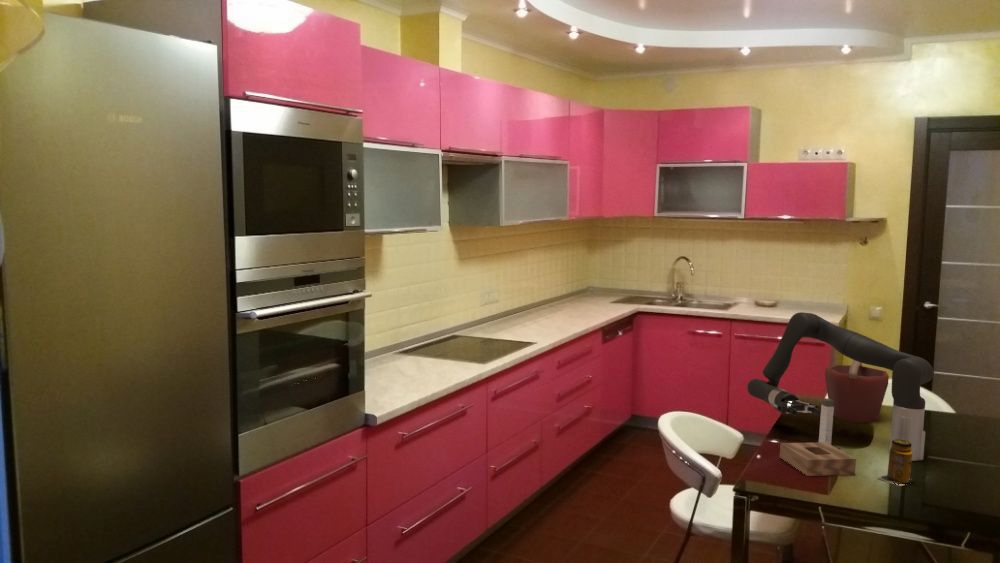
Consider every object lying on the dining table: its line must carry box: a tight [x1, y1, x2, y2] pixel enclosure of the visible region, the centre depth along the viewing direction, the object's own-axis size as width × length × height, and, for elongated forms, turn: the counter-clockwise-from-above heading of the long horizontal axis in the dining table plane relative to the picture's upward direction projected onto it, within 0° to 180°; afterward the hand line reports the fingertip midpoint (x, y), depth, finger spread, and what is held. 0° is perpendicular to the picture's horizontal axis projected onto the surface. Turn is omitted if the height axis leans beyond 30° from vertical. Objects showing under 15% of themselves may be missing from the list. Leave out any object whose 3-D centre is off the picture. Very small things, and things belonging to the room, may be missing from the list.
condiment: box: [877, 439, 913, 487], centre depth 224 cm, size 7×8×12 cm
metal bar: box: [816, 398, 834, 445], centre depth 248 cm, size 3×4×18 cm, turn 9°
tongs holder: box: [779, 442, 857, 477], centre depth 235 cm, size 16×16×5 cm
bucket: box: [824, 359, 890, 424], centre depth 293 cm, size 24×22×25 cm
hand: (807, 413), depth 259 cm, fingers open, 8 cm apart
